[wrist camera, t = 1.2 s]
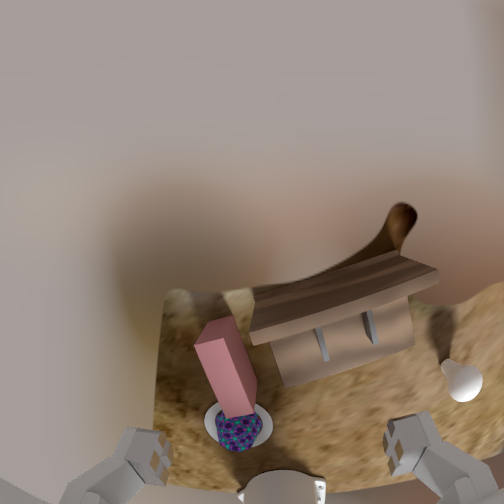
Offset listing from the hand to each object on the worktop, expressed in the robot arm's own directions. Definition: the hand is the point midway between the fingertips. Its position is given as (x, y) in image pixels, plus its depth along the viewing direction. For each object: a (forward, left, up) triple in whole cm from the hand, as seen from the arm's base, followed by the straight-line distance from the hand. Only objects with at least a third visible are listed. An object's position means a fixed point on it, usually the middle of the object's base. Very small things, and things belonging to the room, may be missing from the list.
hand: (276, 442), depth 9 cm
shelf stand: (-11, -7, -35) cm, 37 cm away
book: (-11, +10, -35) cm, 38 cm away
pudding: (-25, +14, -36) cm, 46 cm away
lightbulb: (-26, -24, -35) cm, 50 cm away
